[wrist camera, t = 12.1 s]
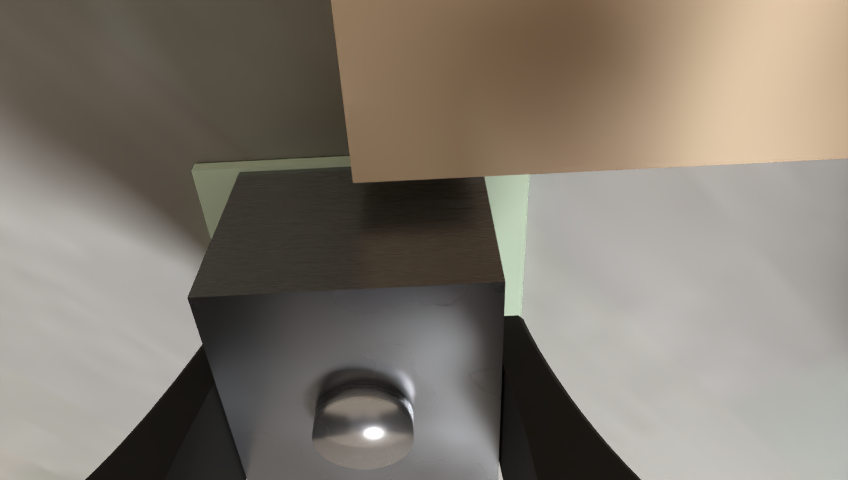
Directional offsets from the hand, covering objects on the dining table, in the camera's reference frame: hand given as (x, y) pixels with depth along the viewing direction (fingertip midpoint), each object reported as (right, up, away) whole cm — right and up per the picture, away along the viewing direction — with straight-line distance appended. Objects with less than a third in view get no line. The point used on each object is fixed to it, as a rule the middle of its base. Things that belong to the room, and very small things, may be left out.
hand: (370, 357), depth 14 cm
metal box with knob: (0, +2, +1) cm, 2 cm away
